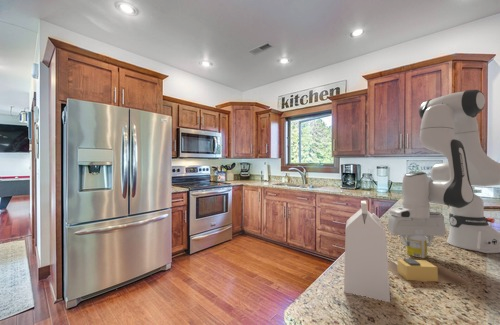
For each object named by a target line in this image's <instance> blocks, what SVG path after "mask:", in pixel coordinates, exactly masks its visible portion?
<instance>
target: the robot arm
mask: <svg viewBox="0 0 500 325" xmlns="http://www.w3.org/2000/svg"><path fill="white" fill-rule="evenodd" d="M485 105H486V98H485V95H484V93H483V91H481V90H479V89H468V90H464V91H458V92H453V93H448V94H445V95H442V96H438V97H435V98H432V99H431V98H430V99H428V100H425V101H423V102H422V103H421V104H420V106H419V109H418V115H419V117H420V119H421V123H420V128H419V129H420V130H419V142H420V145H421V146H422V147H423V148H425V149H426V150H429V151H431V152H435V153H438V154H441V155H443V156H445V158H446V159H447V162H440V163H436V164H434V165H433V166H432V167H431V169H430V177H429V176H428V173H426V171H425V172H424V171H411V172H407V173H405V174H403V177H402V185H401V190H402V191H401V194H402V197H403V200H402V202H401V203H402V205H400V206H398V207H395V208H394V207H393V208H390V210H389V214H390V216H389V218H388V220H387V229H388V232H389V233H390V234H392V235H394V236H399V237H400V238H401V240H402V243H403V244H402V245H403V246H405V247H407V246H410V245H409V244H410V242H408V241H407V235H417V234H416V233H415V230H423V234H422V235H423V236H425V237H426V238H427V248H429V247H431V246H432V245H431V243H432V242H433V240H434V237H445V235H446V233H447V230H446V225H445V224H446V223H445V216H444V215H443V213H441V212H439V211H431V208H430V206H431V205H430V203H432V204H436V205H441V206H448V207H449V208H450V209H449V210H450V211H449V216H448V217H449V219H448V220H449V225H450V226H449V232H448V235H447V236H448V237H447V239H446V243H448V244H450V245H451V246H453V247H456V248H461V249H465V250H470V251H474V252H475V251H476V252H479V253H484V254H498V253H500V231H498V230H497V229H495V228H494V227H492V226H491V225H490V224H489V223H491V224H494V223H495V222H496V220H495V218H492V217H486V216H485V213H484V212H485V210H484V209H485V208H484V200H483V199H482V197H481V196H479V195H477V194H475V193H474V190H473V187H475V186H477V187H490V186H491V187H492V186H500V162H499V161H496V160H494V159H492V158H491V157H490V156H488V154H487V153H486V152H485V151H484V150H483V147H482V144H481V138H480V130H479V122H478V120H477V115H478V114H480V113H481V112H482V111H483V109H484V108H485ZM472 186H473V187H472Z"/></svg>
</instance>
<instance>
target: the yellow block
mask: <svg viewBox="0 0 500 325" xmlns="http://www.w3.org/2000/svg"><path fill="white" fill-rule="evenodd" d="M396 262H397V267H398V273H399V274H400V275H401V276H402V277H404V278H405V279H406V280H414V281H438V269H437V267H436V266H435V265H433V264H431V263H432V262H429V261H428V260H425V259H414V258H403V259H401V258H400V259H398V258H397V259H396ZM414 281H413V282H414Z"/></svg>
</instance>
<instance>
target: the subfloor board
mask: <svg viewBox="0 0 500 325" xmlns="http://www.w3.org/2000/svg"><path fill="white" fill-rule="evenodd" d="M430 263H431V264H433V265H435V266H436V267H437V269H438V281H414V280H406V279H405V278H404V277H402V276H401V275H400V274H399V273H398V267H397V261H388V271H390V272H391V273H392V274H394V275H395V276H396V277H397V278H398V279H400V280H401V281H402V282H413V283H414V282H415V283H416V282H417V283H418V282H419V283H420V282H421V283H438V284H439V283H440V284H441V283H442V284H443V283H444V284H465V285H473V283H472V282H470V281H469V280H467V279H466V278H463V277H461V276H460V275H458V274H456V273H455V272H453V271H451V270H449V269H448V268H446V267H444V266H442V265H441V264H439V263H435V262H433V263H432V262H430Z"/></svg>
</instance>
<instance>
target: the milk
mask: <svg viewBox="0 0 500 325" xmlns="http://www.w3.org/2000/svg"><path fill="white" fill-rule="evenodd" d="M367 206H368V205H367V201H366V200H360V208H359V210H358V211H357V212H355V213H354V214H352V215H351V216H350V217H349V218H348V219H347V220H346V222H345V236H344V238H345V243H344V244H345V245H344V282H343V283H344V284H343V293H346V294H350V293H353V294H352V295H355V294H356V296H359V295H361V296H360V297H363V296H366V297H365V298H368V297H369V298H368V299H372V298H374V299H373V300H377V299H379V300H378V301H381V300H382V302H386V303H391V293H390V279H389V278H390V276H389V269H388V262H389V261H388V260H389V259H388V246H387V245H388V244H387V243H388V242H387V233H386V229H385V228H384V225H383V223H382V222H381V218H379V216H378V215H377V214H376V213H374V212H373V213H371V212H370V211H369V210H368V207H367Z"/></svg>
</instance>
